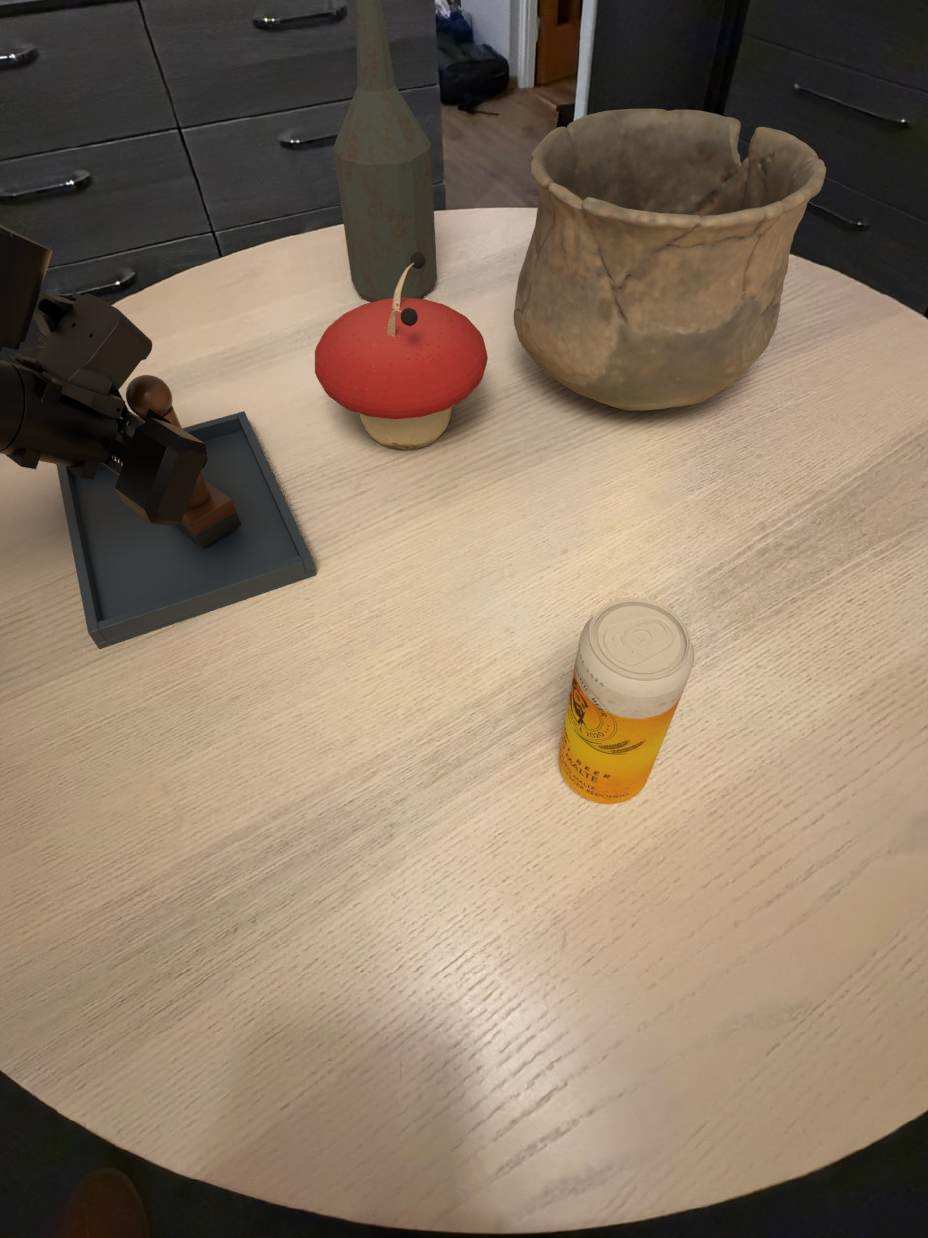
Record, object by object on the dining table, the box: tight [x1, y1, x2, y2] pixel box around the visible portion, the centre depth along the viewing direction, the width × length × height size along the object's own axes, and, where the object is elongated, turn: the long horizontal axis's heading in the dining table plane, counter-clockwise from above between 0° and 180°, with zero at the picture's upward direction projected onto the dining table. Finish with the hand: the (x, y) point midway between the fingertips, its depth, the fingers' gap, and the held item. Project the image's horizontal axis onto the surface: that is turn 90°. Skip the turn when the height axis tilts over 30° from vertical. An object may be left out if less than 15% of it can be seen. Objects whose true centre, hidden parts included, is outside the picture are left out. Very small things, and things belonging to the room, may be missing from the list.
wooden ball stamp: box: [125, 374, 241, 549], centre depth 59 cm, size 5×4×14 cm
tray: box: [55, 410, 317, 650], centre depth 65 cm, size 18×22×2 cm
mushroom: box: [314, 252, 489, 451], centre depth 68 cm, size 16×16×15 cm
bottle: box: [332, 0, 438, 303], centre depth 79 cm, size 10×10×30 cm
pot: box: [513, 108, 827, 412], centre depth 70 cm, size 25×24×21 cm
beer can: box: [558, 596, 695, 805], centre depth 45 cm, size 6×6×15 cm
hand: (193, 454), depth 61 cm, fingers closed on wooden ball stamp, 3 cm apart
